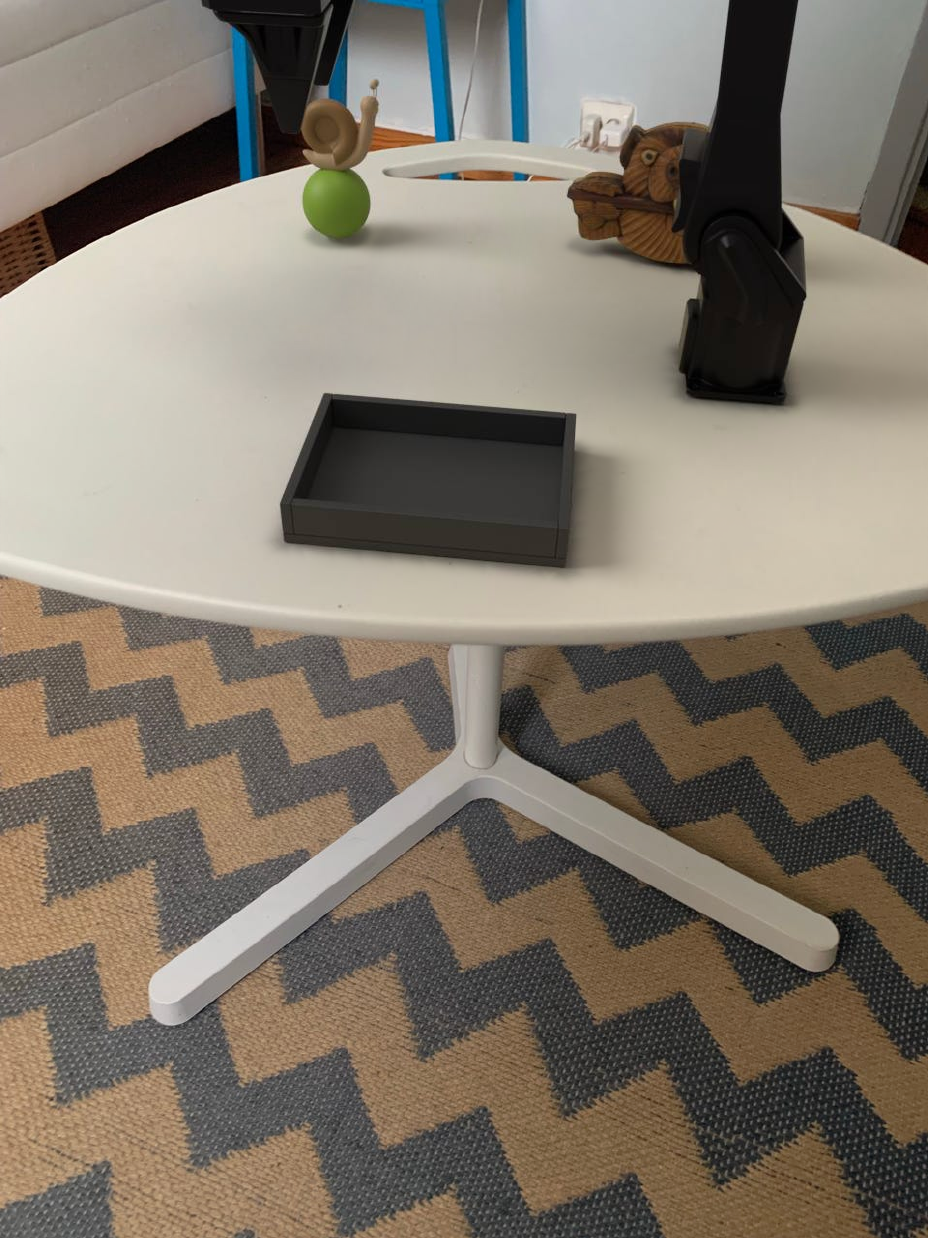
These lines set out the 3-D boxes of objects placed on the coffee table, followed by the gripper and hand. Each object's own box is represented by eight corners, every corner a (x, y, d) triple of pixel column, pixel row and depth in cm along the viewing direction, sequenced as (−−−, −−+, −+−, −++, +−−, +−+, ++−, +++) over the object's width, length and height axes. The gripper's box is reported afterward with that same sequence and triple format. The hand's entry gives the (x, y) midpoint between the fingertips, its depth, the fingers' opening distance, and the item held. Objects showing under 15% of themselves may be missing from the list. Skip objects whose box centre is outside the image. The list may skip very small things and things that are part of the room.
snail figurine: (373, 253, 83) (368, 91, 75) (296, 244, 84) (282, 83, 76) (390, 226, 87) (387, 69, 79) (316, 218, 88) (305, 62, 80)
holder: (572, 449, 64) (576, 412, 62) (565, 567, 55) (570, 529, 54) (326, 429, 65) (323, 392, 63) (283, 542, 56) (279, 503, 55)
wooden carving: (558, 258, 83) (570, 126, 77) (566, 235, 87) (578, 107, 80) (767, 283, 81) (799, 150, 74) (768, 259, 84) (798, 129, 78)
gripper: (183, -236, 61) (218, 56, 72) (65, -203, 48) (130, 152, 58) (371, -227, 61) (378, 66, 71) (307, -191, 47) (327, 165, 58)
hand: (306, 107), depth 65 cm, fingers open, 9 cm apart
